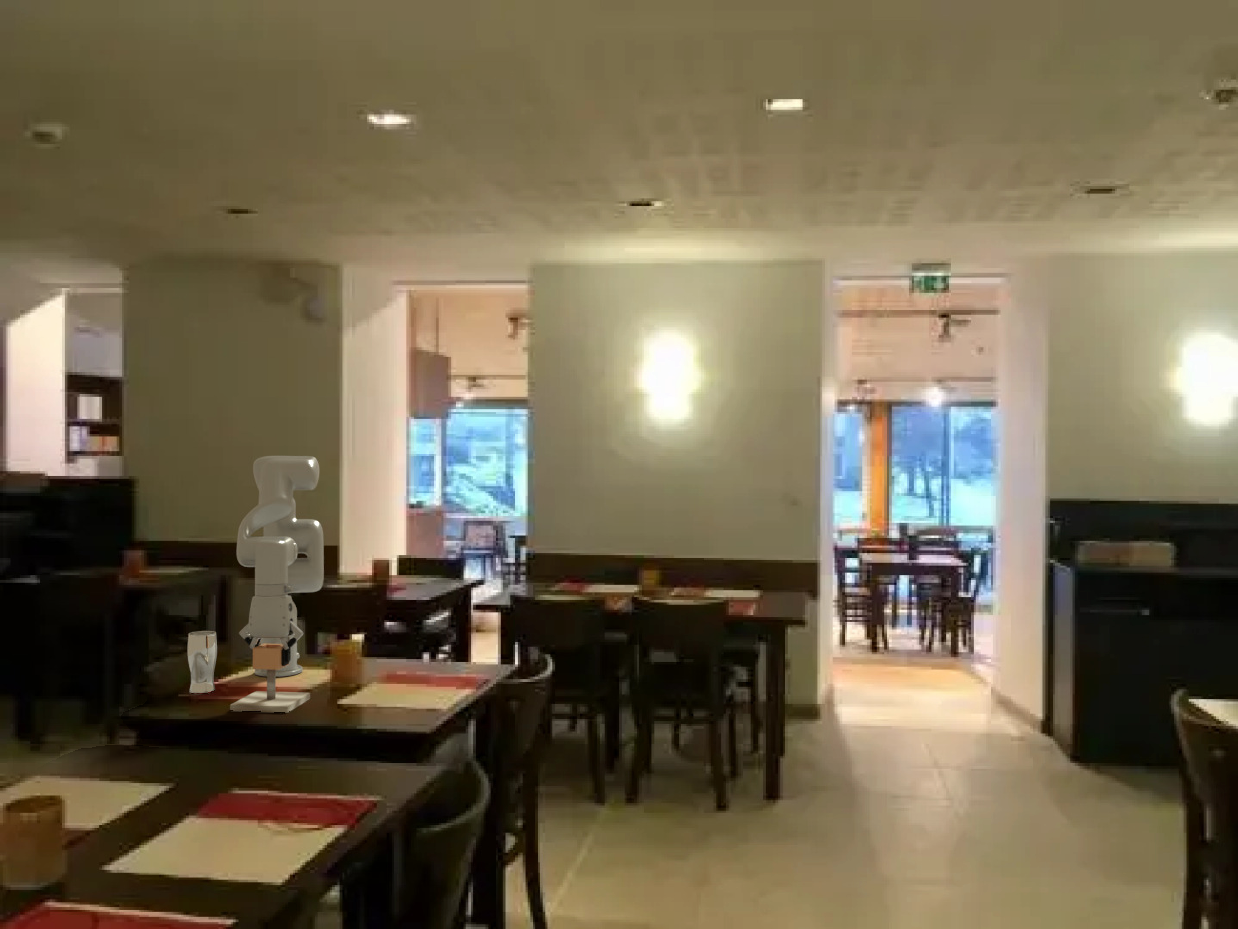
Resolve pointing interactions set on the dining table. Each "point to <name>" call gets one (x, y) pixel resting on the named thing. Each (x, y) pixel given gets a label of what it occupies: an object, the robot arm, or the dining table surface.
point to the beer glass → (202, 660)
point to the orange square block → (268, 657)
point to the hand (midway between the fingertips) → (271, 663)
